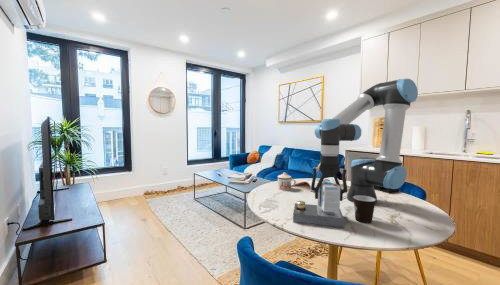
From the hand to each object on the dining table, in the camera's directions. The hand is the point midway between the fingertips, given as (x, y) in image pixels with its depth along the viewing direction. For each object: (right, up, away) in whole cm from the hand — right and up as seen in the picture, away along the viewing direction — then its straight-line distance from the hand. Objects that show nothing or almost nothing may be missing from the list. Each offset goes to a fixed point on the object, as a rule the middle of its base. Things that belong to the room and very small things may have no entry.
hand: (328, 206), depth 99 cm
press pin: (-11, -3, +3) cm, 12 cm away
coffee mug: (+16, -6, +1) cm, 17 cm away
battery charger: (+54, -4, +49) cm, 73 cm away
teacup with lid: (-10, -3, +49) cm, 50 cm away
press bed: (-4, -6, +1) cm, 7 cm away
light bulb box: (0, 0, 0) cm, 0 cm away
